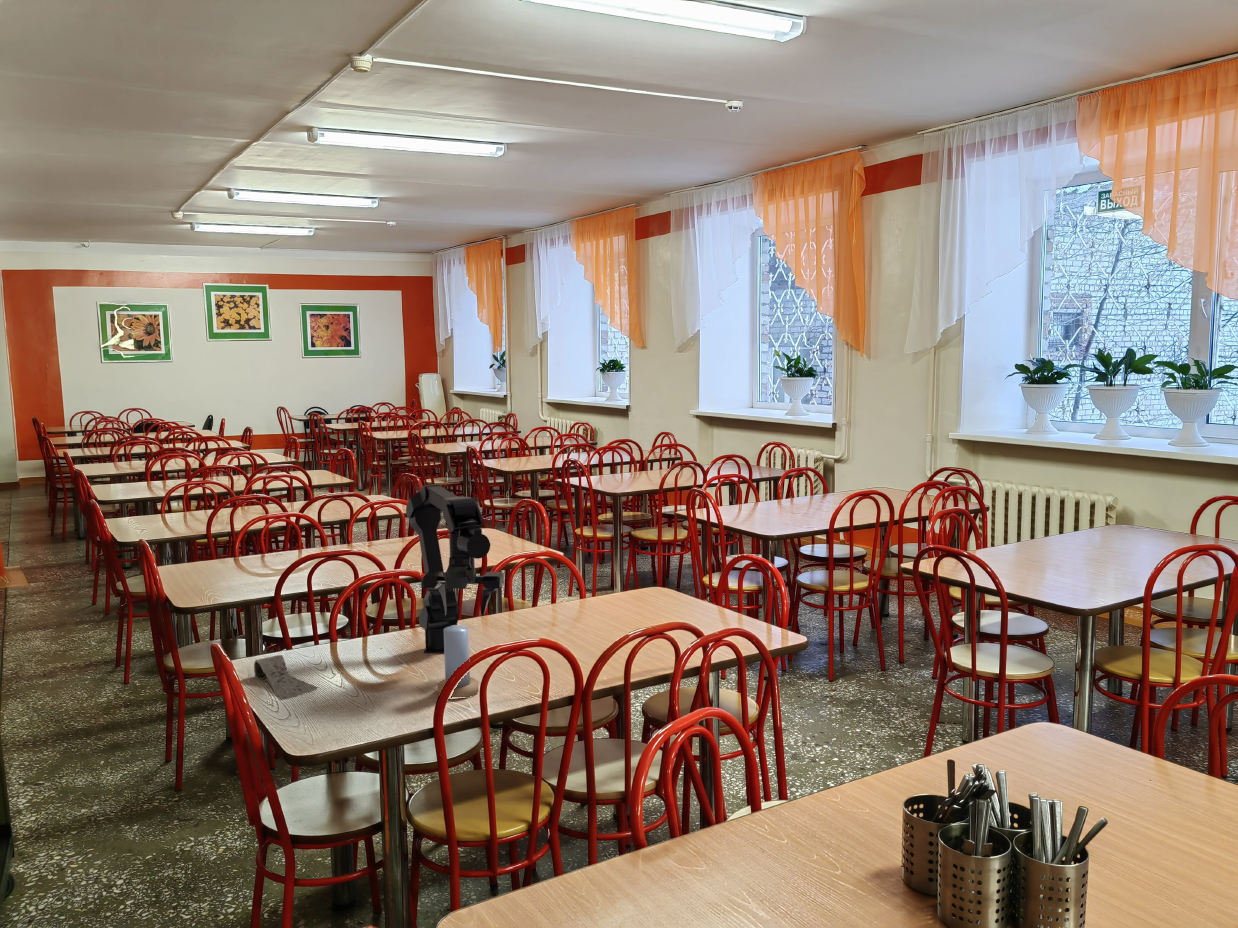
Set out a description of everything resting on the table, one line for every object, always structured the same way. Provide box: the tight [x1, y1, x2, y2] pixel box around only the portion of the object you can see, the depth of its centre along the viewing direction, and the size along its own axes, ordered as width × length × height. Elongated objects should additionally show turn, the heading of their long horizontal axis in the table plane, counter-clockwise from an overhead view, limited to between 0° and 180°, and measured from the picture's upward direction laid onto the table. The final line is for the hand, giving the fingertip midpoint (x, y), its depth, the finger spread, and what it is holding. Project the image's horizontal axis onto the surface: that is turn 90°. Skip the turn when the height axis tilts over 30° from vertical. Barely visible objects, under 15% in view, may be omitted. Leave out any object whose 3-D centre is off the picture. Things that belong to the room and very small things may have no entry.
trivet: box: [436, 676, 479, 698], centre depth 209 cm, size 9×9×2 cm
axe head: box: [253, 654, 319, 701], centre depth 215 cm, size 21×5×10 cm
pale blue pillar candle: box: [443, 624, 471, 688], centre depth 208 cm, size 5×5×12 cm
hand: (463, 615), depth 223 cm, fingers open, 9 cm apart
